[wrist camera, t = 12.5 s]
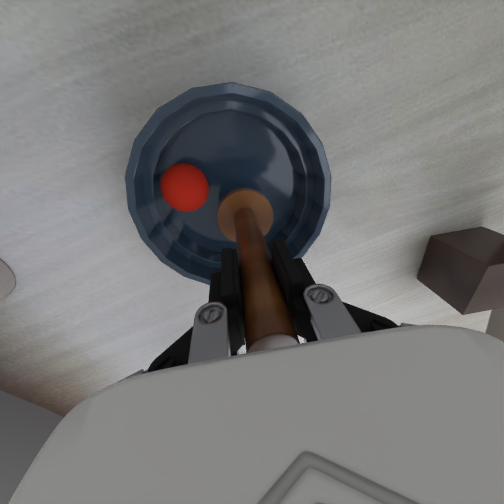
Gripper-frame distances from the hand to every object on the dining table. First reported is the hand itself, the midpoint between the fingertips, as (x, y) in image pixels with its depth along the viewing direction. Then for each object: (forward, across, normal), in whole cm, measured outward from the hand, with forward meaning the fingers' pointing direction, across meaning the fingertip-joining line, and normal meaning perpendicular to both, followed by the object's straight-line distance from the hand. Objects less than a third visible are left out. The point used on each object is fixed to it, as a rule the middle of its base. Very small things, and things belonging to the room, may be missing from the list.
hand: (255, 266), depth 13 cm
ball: (+9, +5, -3) cm, 11 cm away
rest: (+12, -27, +12) cm, 32 cm away
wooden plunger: (+9, 0, 0) cm, 9 cm away
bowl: (+12, +1, -1) cm, 12 cm away
